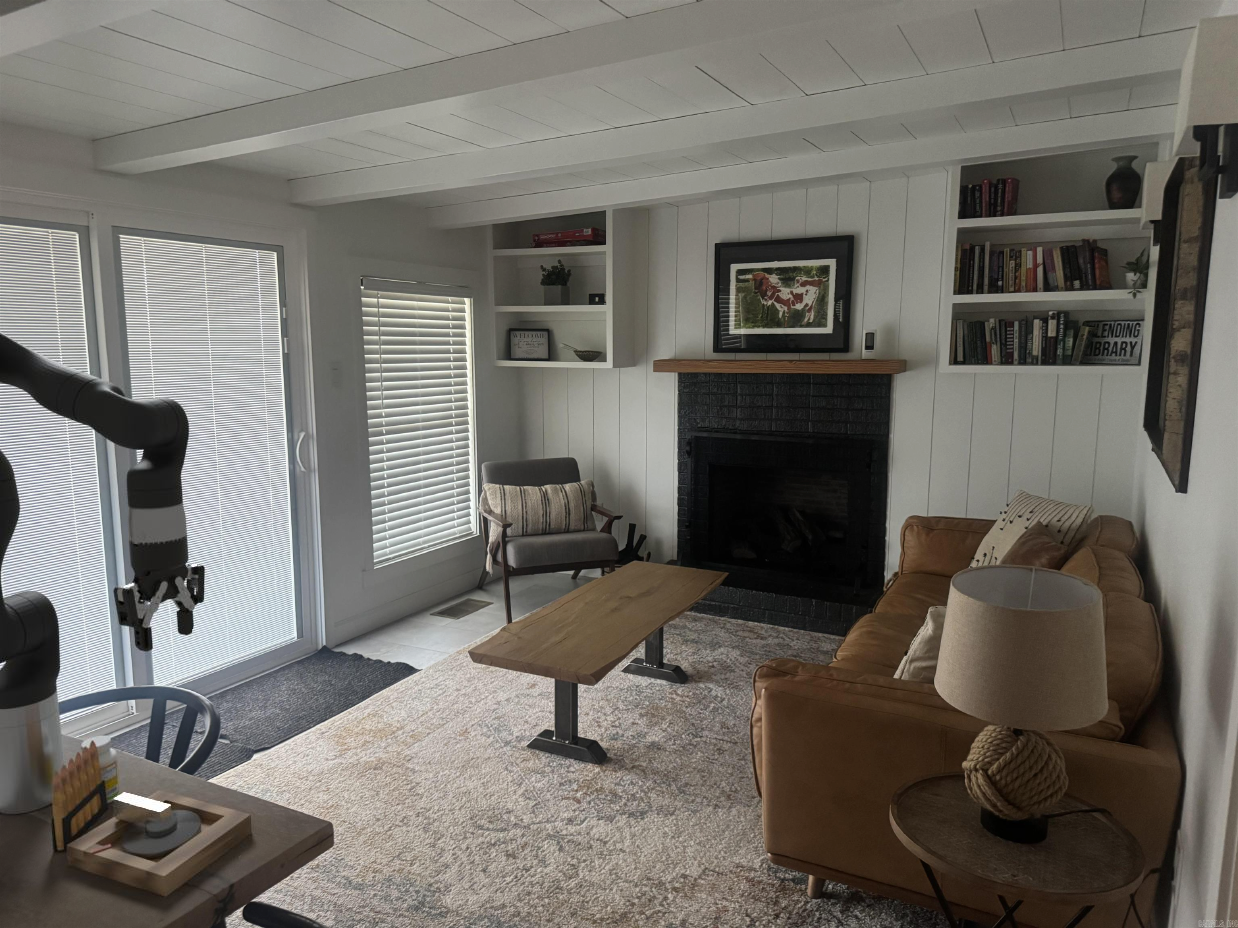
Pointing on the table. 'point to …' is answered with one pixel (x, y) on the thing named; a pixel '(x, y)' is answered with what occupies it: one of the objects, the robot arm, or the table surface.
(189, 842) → the wooden tray
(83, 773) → the ammunition clip
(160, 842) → the dial
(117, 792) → the supplement bottle
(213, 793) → the table surface
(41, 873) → the table surface
